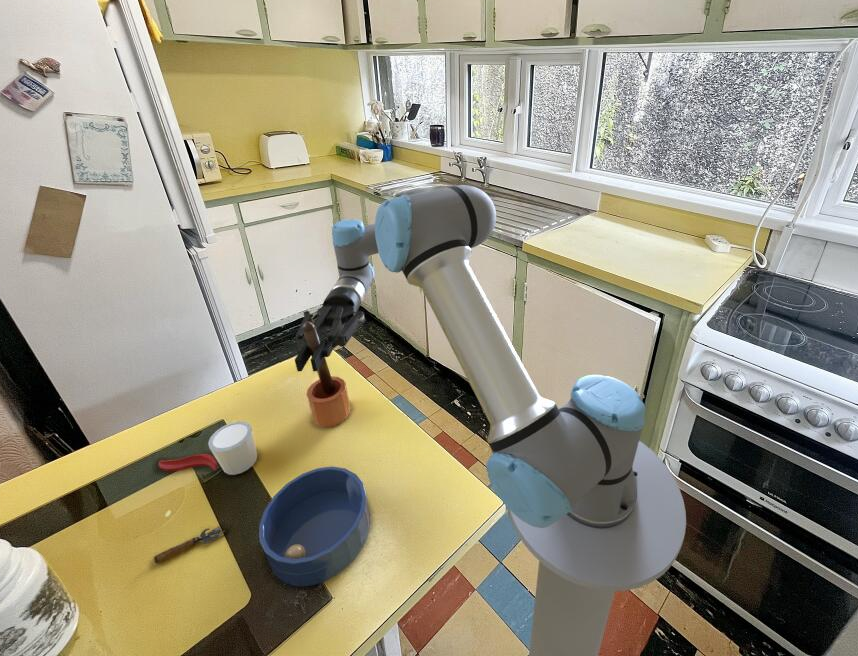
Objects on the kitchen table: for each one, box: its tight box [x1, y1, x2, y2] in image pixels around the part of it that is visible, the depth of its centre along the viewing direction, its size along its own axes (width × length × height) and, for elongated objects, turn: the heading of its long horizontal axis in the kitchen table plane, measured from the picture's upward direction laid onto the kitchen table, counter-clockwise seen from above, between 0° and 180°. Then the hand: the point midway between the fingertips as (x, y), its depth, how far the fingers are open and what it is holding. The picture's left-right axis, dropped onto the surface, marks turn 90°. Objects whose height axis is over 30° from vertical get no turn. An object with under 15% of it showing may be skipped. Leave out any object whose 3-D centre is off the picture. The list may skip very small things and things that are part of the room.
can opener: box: [153, 526, 225, 564], centre depth 64 cm, size 9×2×1 cm, turn 118°
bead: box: [284, 544, 306, 559], centre depth 61 cm, size 3×3×3 cm
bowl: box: [258, 466, 371, 587], centre depth 65 cm, size 15×15×6 cm
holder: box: [306, 375, 351, 428], centre depth 87 cm, size 8×8×7 cm
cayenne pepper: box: [158, 453, 218, 472], centre depth 77 cm, size 12×5×2 cm, turn 76°
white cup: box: [207, 421, 258, 476], centre depth 76 cm, size 7×7×7 cm
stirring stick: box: [302, 322, 335, 395], centre depth 82 cm, size 2×2×20 cm
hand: (306, 365), depth 76 cm, fingers closed on stirring stick, 2 cm apart
